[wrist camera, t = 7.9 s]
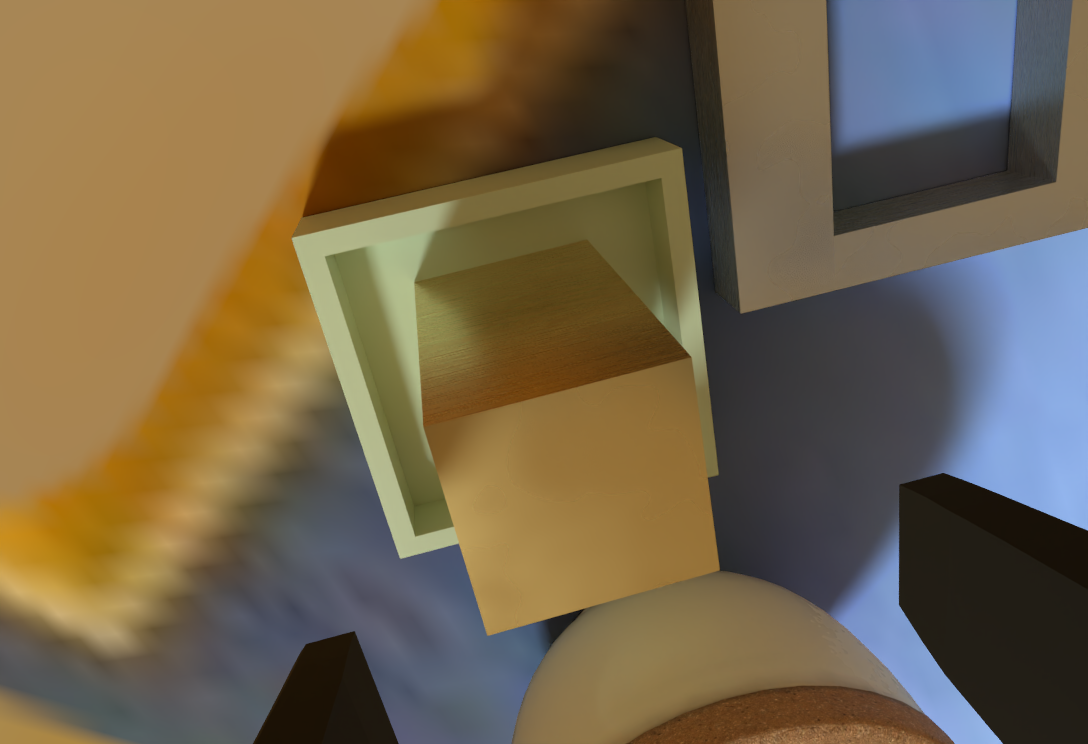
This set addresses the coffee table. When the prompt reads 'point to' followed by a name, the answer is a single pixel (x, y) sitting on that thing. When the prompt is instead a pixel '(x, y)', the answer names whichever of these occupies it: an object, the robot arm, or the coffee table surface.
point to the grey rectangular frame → (806, 171)
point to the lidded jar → (716, 674)
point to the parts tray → (474, 240)
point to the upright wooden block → (561, 435)
